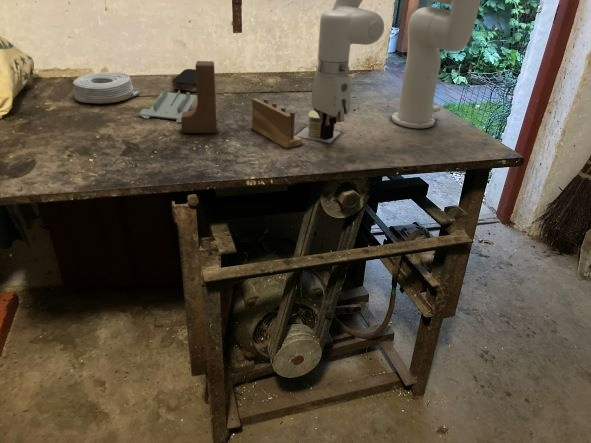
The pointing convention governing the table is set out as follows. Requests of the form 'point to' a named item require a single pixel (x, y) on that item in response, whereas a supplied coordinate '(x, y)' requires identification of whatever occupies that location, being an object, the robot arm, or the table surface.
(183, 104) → the metal bracket
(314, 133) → the stacked layers on plate
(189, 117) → the wooden block
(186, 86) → the black sponge
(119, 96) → the cable
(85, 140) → the table surface
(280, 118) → the peg rack
